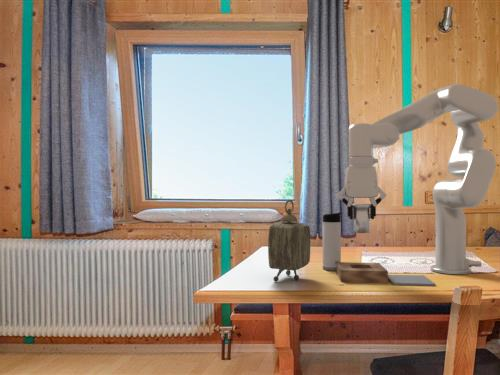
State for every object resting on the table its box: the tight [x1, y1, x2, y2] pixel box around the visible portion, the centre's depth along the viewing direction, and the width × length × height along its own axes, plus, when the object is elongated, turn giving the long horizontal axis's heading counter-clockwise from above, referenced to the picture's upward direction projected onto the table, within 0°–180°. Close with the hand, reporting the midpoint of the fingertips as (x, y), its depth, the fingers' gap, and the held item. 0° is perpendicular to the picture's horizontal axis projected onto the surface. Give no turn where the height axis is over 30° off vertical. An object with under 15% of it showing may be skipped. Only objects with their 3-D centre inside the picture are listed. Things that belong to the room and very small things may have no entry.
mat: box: [388, 274, 437, 287], centre depth 135 cm, size 12×12×1 cm
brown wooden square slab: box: [336, 261, 389, 284], centre depth 140 cm, size 14×14×4 cm
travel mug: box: [322, 211, 343, 272], centre depth 154 cm, size 6×7×20 cm
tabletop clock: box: [267, 199, 311, 283], centre depth 137 cm, size 14×9×25 cm, turn 155°
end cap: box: [351, 203, 371, 234], centre depth 140 cm, size 6×6×9 cm
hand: (361, 218), depth 140 cm, fingers closed on end cap, 6 cm apart
